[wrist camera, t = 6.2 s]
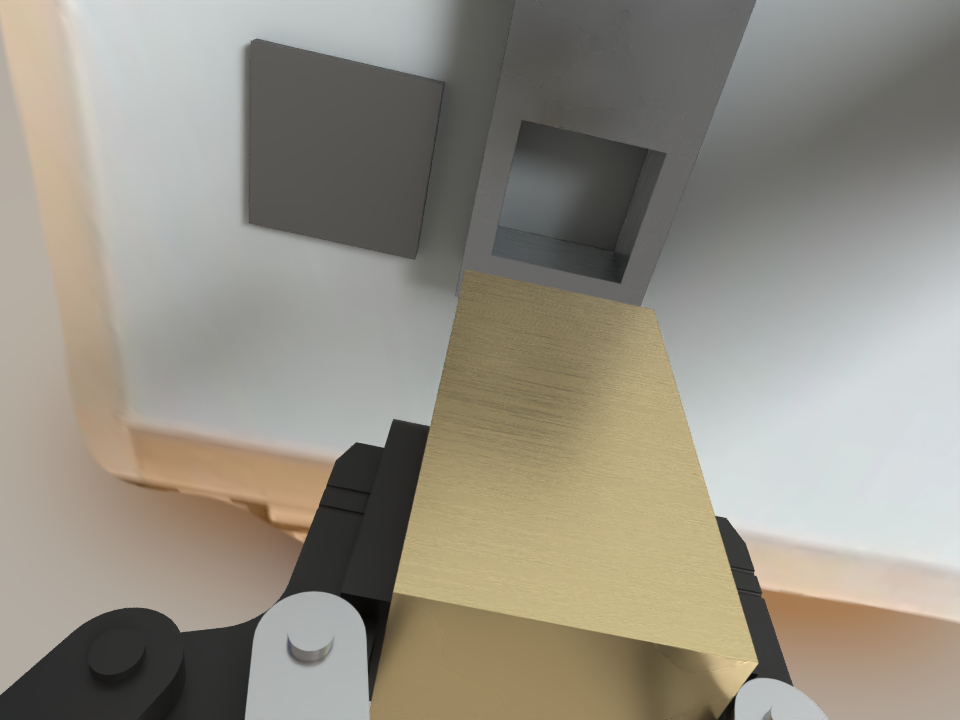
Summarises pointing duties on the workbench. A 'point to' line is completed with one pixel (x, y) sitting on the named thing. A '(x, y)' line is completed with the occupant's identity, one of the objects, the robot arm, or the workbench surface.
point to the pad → (340, 148)
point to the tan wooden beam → (560, 528)
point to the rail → (604, 125)
